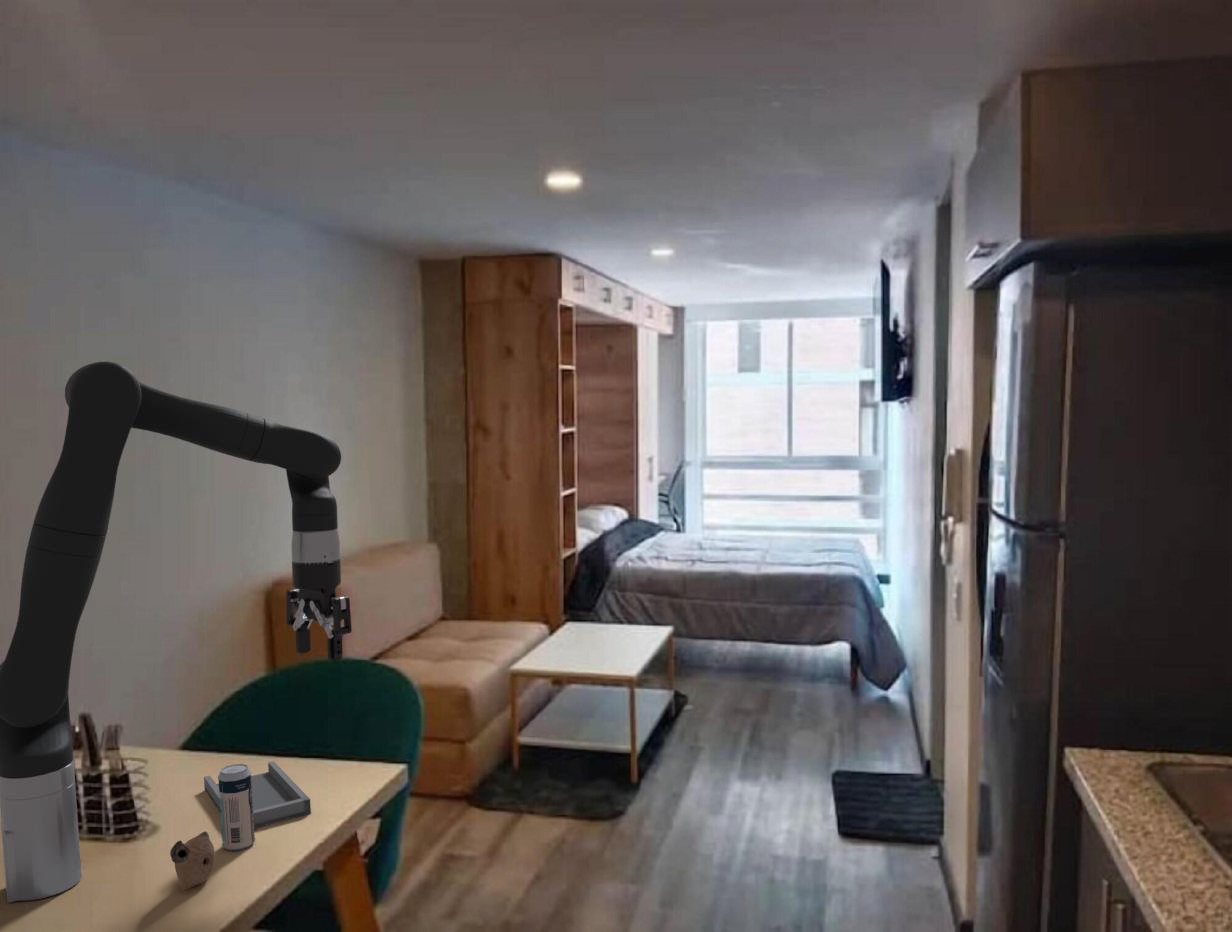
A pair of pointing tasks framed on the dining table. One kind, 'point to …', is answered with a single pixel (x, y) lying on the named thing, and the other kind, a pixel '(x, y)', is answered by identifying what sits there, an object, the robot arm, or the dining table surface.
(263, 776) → the tray
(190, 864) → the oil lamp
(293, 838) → the dining table surface
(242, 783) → the beer can
